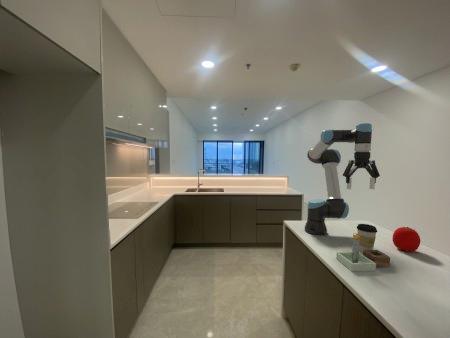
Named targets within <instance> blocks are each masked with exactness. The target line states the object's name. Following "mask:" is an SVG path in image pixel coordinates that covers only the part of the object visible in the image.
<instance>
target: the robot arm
mask: <svg viewBox="0 0 450 338" xmlns="http://www.w3.org/2000/svg"><path fill="white" fill-rule="evenodd" d="M372 128H373V125H372V124H371V123H366V122H365V123H364V122H363V123H357V124H356V125H355V128H354V129H324V130H322V131H321V134H320V140H319V141H317V143H316V144H314V146H313V147H311V148H309V150H308V151H307V158H308V161H309V162H311V163H314V164H316V165H317V164H318V165H319V164H321V167H322V169H324V177H325V184H326V191H327V198H326V199H320V198H315V199H310V200H309V201H308V202H307V203H308V204H307V219H306V222H305V224H304V231H305V232H306V233H308V234H310V235H316V236H325V235H328V229H327V225H326V220H325V219H337V220H339V219H340V220H342V219H346V218H347V217H348V216H349V211H350V207H349V203H348V202H345V198H343V197H342V194H341V187H340V180H339V176H338V174H339V172H338V168H337V167H338V166H340V165H339V164H340V163H341V161H342V160H341V158H342V156H341V153H340V151H339V149H338V150H337V149H336V148H335V149H333V148H330V147H331V146H332V145H333V144H335V143H347V144H352V143H354V148H353V149H354V153H353V158H354V160H353V159H349V160H348V164H347V166H346V168H345V169H344V171H343V172H342V173H343V174H342V176H343V177H345V184H346V190H347V189H348V190H352V183H353V181H352V180H353V179H352V176H353V175H354V174H355V172H356V171H357V170H358V169H365V170H366V171H367V173H368V174H369V176H370V177H369V188H368V189H369V190H375V187H376V186H375V184H376V183H377V182H376V181H377V178H379V177H381V174H380V172H379V170H378V167H377V165H376V161H375V159H371V153H372V152H370V151H371V150H372V136H373V129H372Z"/></svg>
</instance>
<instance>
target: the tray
mask: <svg viewBox="0 0 450 338" xmlns="http://www.w3.org/2000/svg"><path fill="white" fill-rule="evenodd" d="M335 259H336V260H337V261H338V262H340V263H341V264H342V265H343V266H344V267H346V268H347V269H349V271H350V272H376V270H377V269H376V268H377V267H376V263H374V262H373V261H371V260H370V259H368V258H367V257H365V256H364V255H363V253H362V252H359V260H358V263H352V251H336V256H335Z"/></svg>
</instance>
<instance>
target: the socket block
mask: <svg viewBox="0 0 450 338" xmlns="http://www.w3.org/2000/svg"><path fill="white" fill-rule="evenodd" d="M362 255H364V256H365V257H367V258H368V259H370V260H371V261H373V262H374V263H376V268H390V267H391V257H390V256H389V255H387V254H386V253H383V252H382V251H380V250H378V249H373V250H363V252H362Z"/></svg>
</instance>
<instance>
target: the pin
mask: <svg viewBox="0 0 450 338" xmlns="http://www.w3.org/2000/svg"><path fill="white" fill-rule="evenodd" d="M359 241H360V235H359V234H357V233H353V234H352V248H351V249H352V250H351V252H352V263H358V260H359V253H360V251H359Z"/></svg>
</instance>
